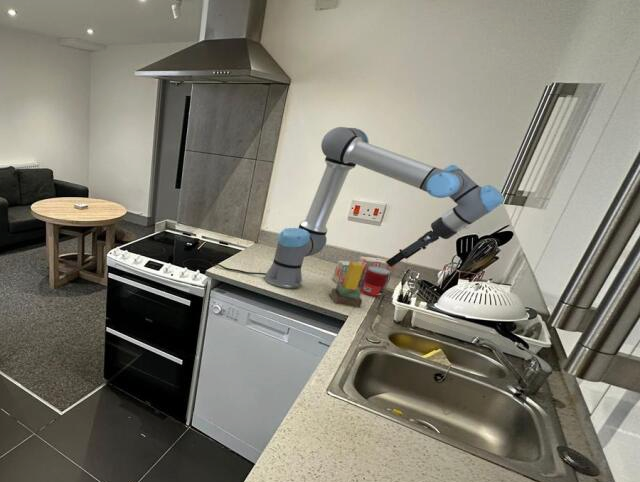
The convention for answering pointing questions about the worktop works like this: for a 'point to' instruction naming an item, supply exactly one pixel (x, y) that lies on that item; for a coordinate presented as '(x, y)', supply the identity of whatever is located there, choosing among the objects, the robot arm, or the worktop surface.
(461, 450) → the worktop surface
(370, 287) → the canned food
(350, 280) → the bar
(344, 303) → the green brown stepped block
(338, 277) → the stack of blocks
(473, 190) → the robot arm
